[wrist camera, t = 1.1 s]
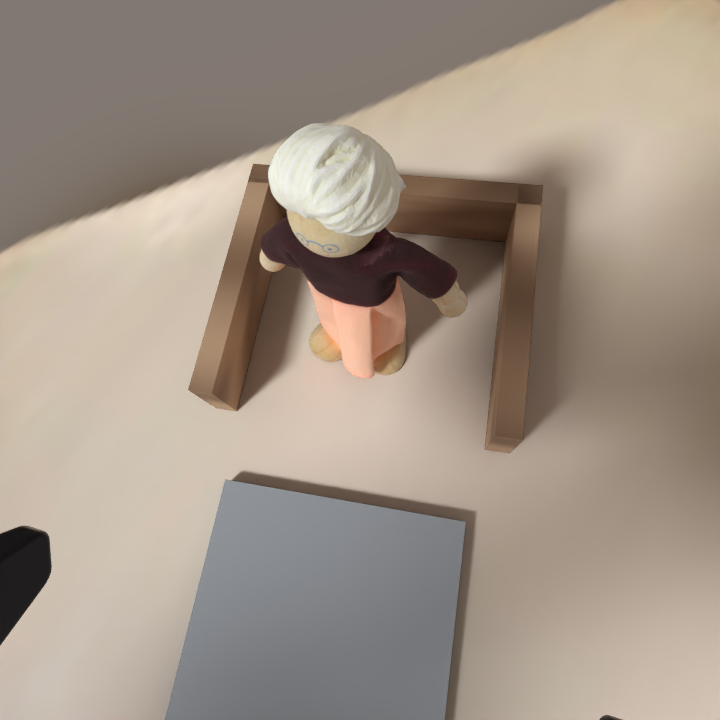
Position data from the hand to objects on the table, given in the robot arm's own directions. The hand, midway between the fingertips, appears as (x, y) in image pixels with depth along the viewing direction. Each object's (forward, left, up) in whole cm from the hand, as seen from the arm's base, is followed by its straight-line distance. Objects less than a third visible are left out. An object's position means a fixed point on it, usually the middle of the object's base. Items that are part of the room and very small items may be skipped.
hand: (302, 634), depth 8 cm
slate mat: (-3, -1, -13) cm, 14 cm away
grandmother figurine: (+2, +10, -13) cm, 17 cm away
